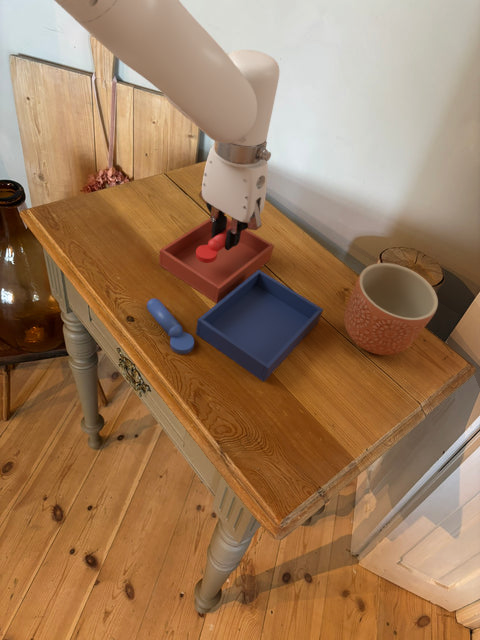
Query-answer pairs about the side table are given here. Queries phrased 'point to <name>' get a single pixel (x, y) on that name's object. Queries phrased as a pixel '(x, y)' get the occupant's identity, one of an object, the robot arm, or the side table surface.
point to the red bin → (224, 270)
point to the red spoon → (212, 247)
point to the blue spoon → (171, 327)
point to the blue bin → (259, 324)
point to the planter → (388, 308)
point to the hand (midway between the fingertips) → (224, 241)
